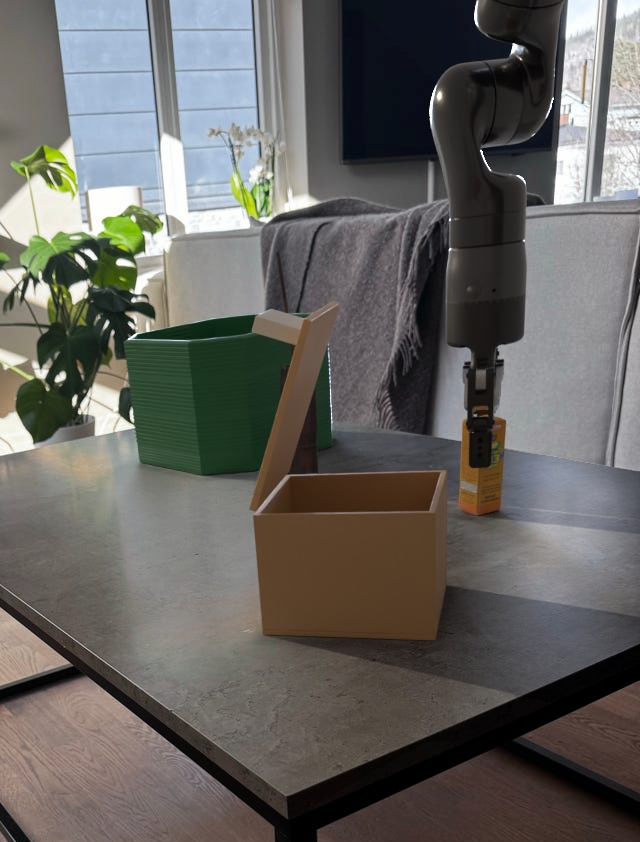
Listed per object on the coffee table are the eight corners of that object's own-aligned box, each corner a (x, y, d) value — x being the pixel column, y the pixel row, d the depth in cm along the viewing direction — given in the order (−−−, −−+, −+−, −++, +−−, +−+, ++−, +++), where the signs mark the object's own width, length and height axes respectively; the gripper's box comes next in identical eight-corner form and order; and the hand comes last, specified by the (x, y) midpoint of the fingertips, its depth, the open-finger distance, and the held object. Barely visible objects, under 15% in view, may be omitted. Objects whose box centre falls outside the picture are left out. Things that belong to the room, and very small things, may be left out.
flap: (340, 302, 75) (285, 286, 76) (311, 320, 65) (248, 302, 66) (289, 471, 83) (239, 455, 84) (255, 512, 73) (199, 493, 74)
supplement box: (478, 517, 98) (480, 423, 94) (457, 510, 101) (459, 419, 97) (504, 510, 99) (507, 417, 95) (482, 503, 102) (484, 413, 98)
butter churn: (359, 476, 118) (351, 242, 107) (305, 494, 114) (291, 252, 102) (309, 467, 125) (297, 247, 114) (256, 484, 121) (239, 256, 109)
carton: (446, 584, 82) (447, 469, 78) (435, 640, 72) (435, 512, 68) (293, 582, 87) (286, 474, 83) (262, 634, 77) (252, 515, 73)
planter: (224, 480, 124) (211, 342, 117) (120, 458, 144) (103, 339, 137) (358, 439, 137) (353, 311, 130) (245, 424, 157) (236, 313, 150)
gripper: (525, 297, 83) (518, 475, 90) (526, 282, 96) (519, 440, 102) (440, 305, 86) (439, 477, 93) (450, 290, 98) (449, 443, 105)
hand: (481, 457), depth 98 cm, fingers open, 6 cm apart
